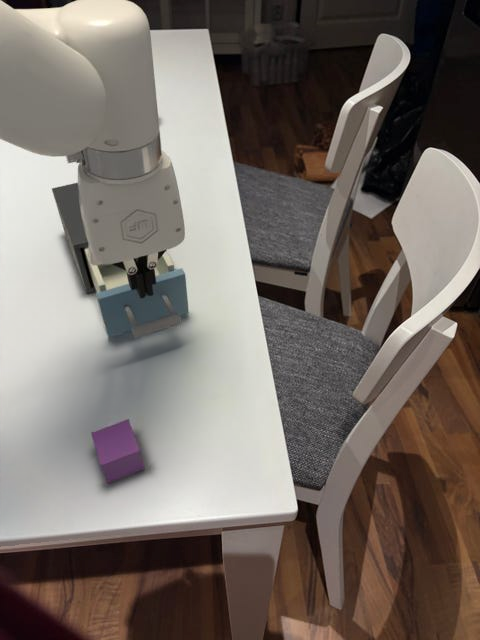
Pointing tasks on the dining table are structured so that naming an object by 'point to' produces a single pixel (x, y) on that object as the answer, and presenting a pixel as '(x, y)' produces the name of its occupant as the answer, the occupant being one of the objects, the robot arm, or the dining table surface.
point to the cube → (117, 451)
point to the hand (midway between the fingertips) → (143, 289)
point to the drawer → (125, 304)
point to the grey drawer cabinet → (74, 229)
